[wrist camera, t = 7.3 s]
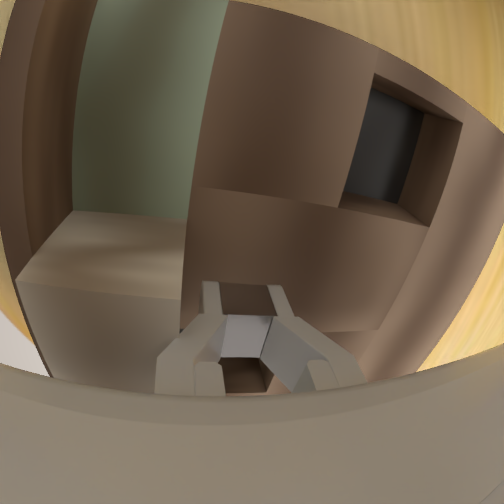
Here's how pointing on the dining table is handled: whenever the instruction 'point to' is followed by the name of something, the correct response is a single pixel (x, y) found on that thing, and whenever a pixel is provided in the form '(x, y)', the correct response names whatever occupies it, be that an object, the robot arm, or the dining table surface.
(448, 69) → the dining table surface
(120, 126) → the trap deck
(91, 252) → the cube
